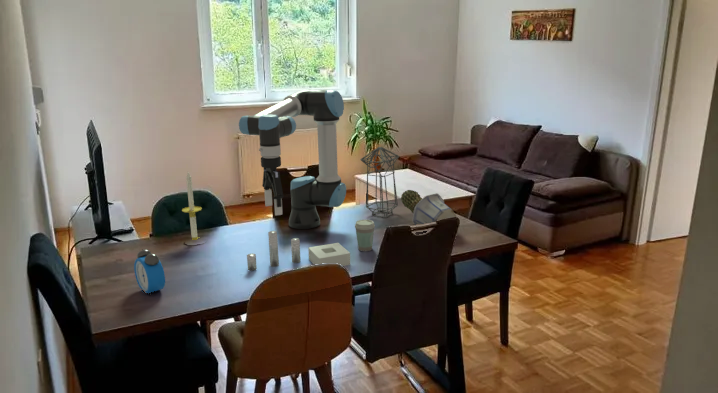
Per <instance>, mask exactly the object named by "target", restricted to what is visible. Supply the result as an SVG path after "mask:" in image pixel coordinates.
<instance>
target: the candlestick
mask: <svg viewBox="0 0 718 393" xmlns="http://www.w3.org/2000/svg"><path fill="white" fill-rule="evenodd" d="M185 179H186V180H185V181H186V189H187V198H188V206H186V207H184V208H183V207H182V209H181V212H183V213H185V214H186V213H188V215H189V223H190V234H191V238H192V240H197V239H198V238H199V237H198V229H197V216H196V213H197V212H200V211H202V209H203V208H202V207H201V206H197V205H195V204H194V203H195V201H194V193H193V192H194V190H193V182H192V176H191V175H190V172H189V171H187V174H186V177H185Z"/></svg>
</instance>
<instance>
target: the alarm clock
mask: <svg viewBox="0 0 718 393" xmlns="http://www.w3.org/2000/svg"><path fill="white" fill-rule="evenodd" d="M133 270H134V276H135V279H136V282H137V284H138V285H137V286H138V287H139V289H140V288H141V289H143V290H145V292H146V293H148V294H149V293H150V294H152V293H154V291H155V292H157V291H160V290H163V289H164V288H165V286H166V274H165V271H164V267H163V265H162V262H161V260H160V258H159V256H158V254H155V253H152V252H151V251H150V250H149V249H146V248H145V249H141V250H139V251H137V253H136V259H135V260H134V264H133ZM141 289H140V290H141ZM151 292H152V293H151Z"/></svg>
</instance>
